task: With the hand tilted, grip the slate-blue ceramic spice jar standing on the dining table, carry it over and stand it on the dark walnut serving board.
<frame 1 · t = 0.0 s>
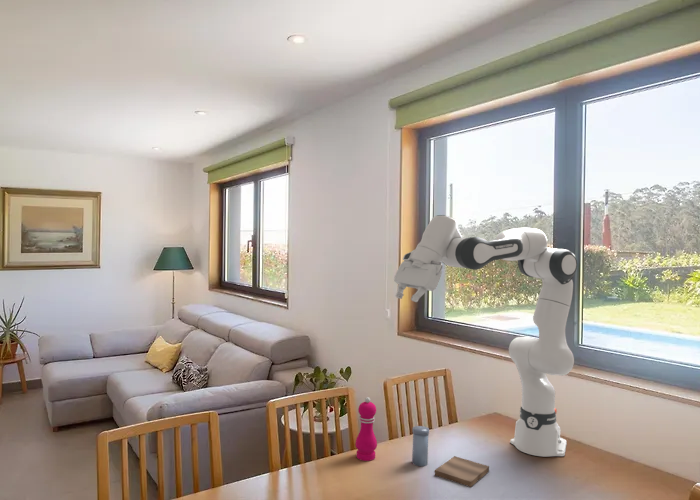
hand: (405, 299, 160), 54 cm above the table, tool tilted 30°, fingers open, 8 cm apart
pepper mill: (365, 457, 172), on the table
walnut board: (462, 473, 162), on the table
spice jar: (419, 462, 169), on the table
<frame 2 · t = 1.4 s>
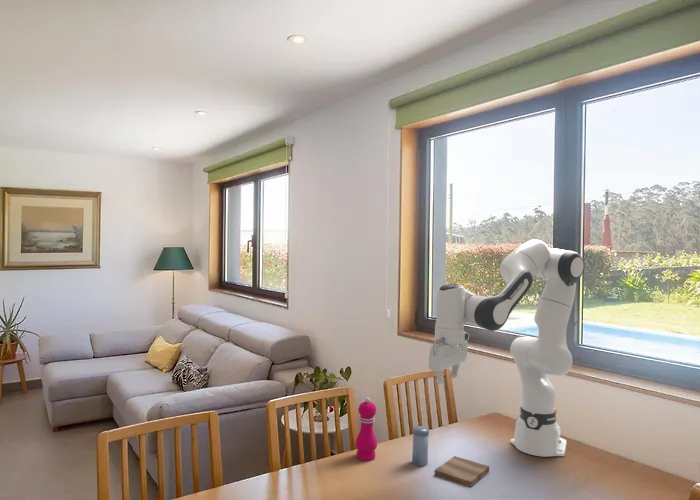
hand: (447, 380, 161), 29 cm above the table, tool pointing down, fingers open, 8 cm apart
nothing on the table moved.
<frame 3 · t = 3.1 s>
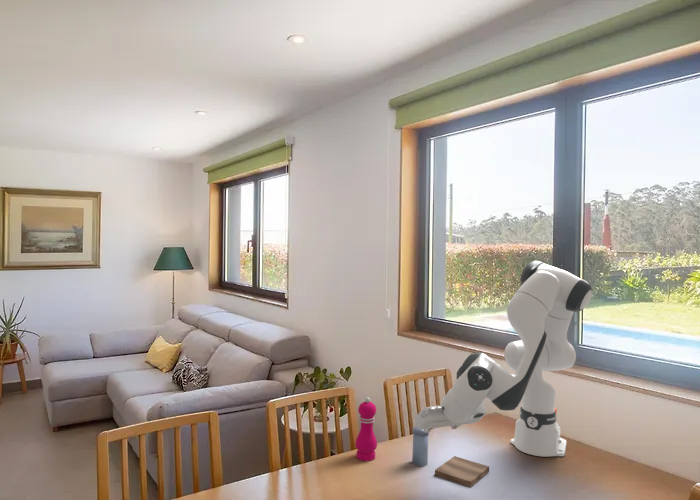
hand: (439, 428, 157), 16 cm above the table, tool tilted 45°, fingers open, 8 cm apart
nothing on the table moved.
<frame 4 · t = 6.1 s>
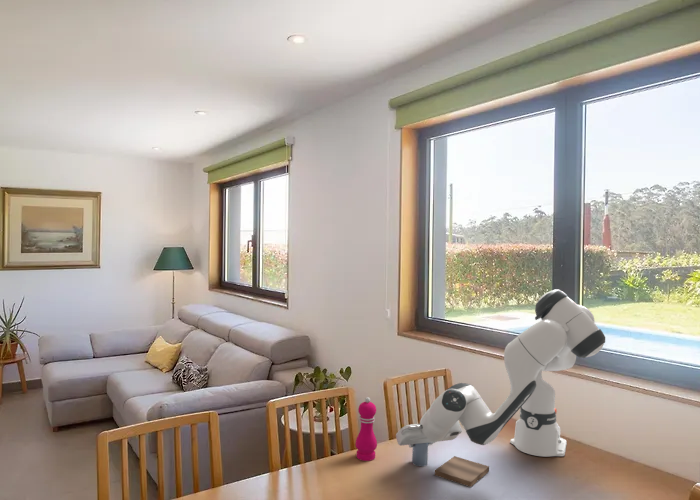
hand: (419, 444, 169), 6 cm above the table, tool tilted 45°, fingers closed on spice jar, 5 cm apart
spice jar: (419, 462, 169), on the table, touching gripper
everything else where it was.
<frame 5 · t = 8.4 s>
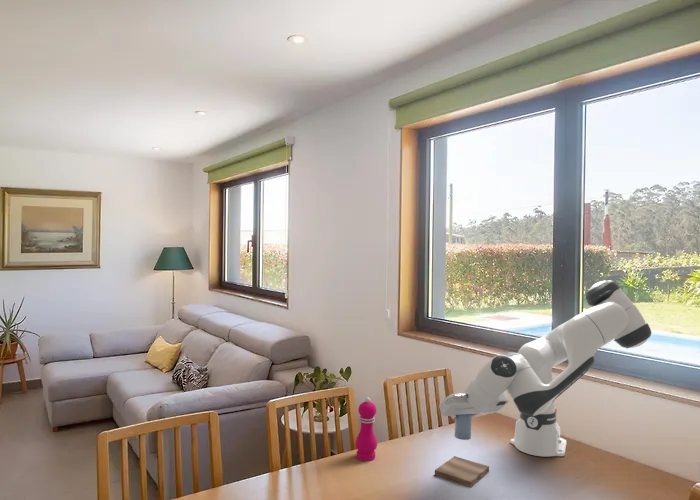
hand: (462, 416, 163), 18 cm above the table, tool tilted 45°, fingers closed on spice jar, 5 cm apart
spice jar: (462, 436, 162), point 11 cm above the table, touching gripper
everything else where it was.
when the fingers open (9 cm above the table, at t = 10.5 s): spice jar stays where it is, resting on walnut board.
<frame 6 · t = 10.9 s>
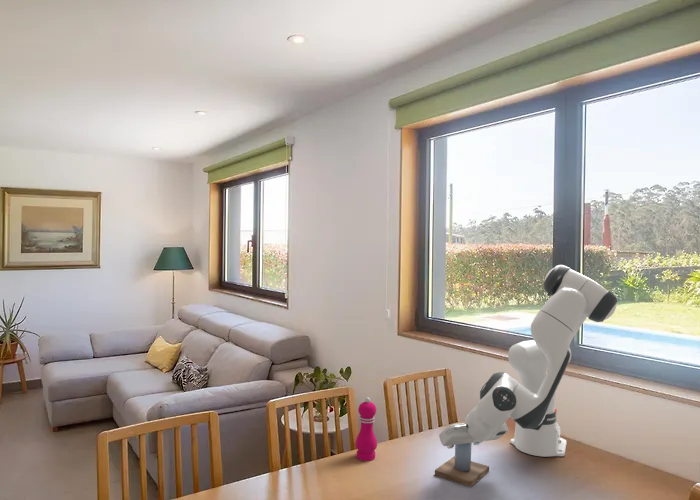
hand: (462, 444, 163), 9 cm above the table, tool tilted 45°, fingers open, 8 cm apart
spice jar: (462, 468, 162), point 2 cm above the table, touching walnut board
everything else where it was.
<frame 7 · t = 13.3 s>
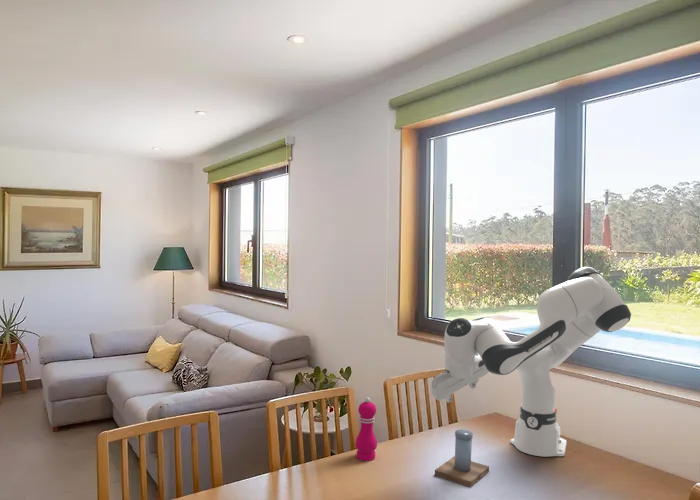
hand: (460, 393, 164), 24 cm above the table, tool tilted 35°, fingers open, 8 cm apart
nothing on the table moved.
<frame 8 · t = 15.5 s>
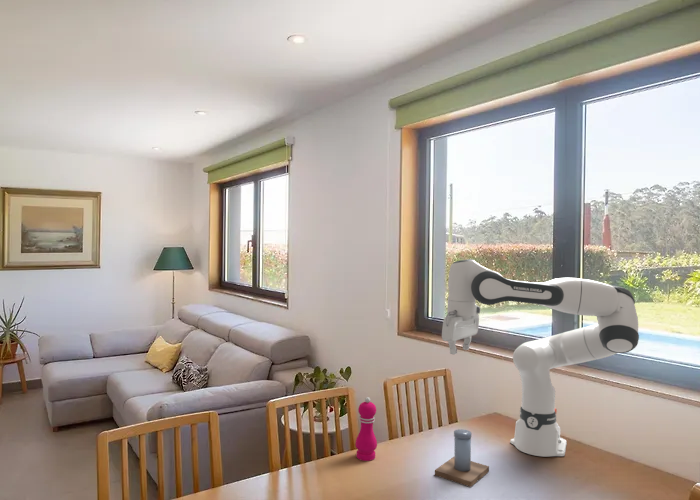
hand: (459, 351, 167), 37 cm above the table, tool pointing down, fingers open, 8 cm apart
nothing on the table moved.
at the end: spice jar inside the target area on the walnut board (0.1 cm from its centre), point 1.7 cm above the walnut board's base; spice jar tilted 2°; the gripper is holding nothing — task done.
